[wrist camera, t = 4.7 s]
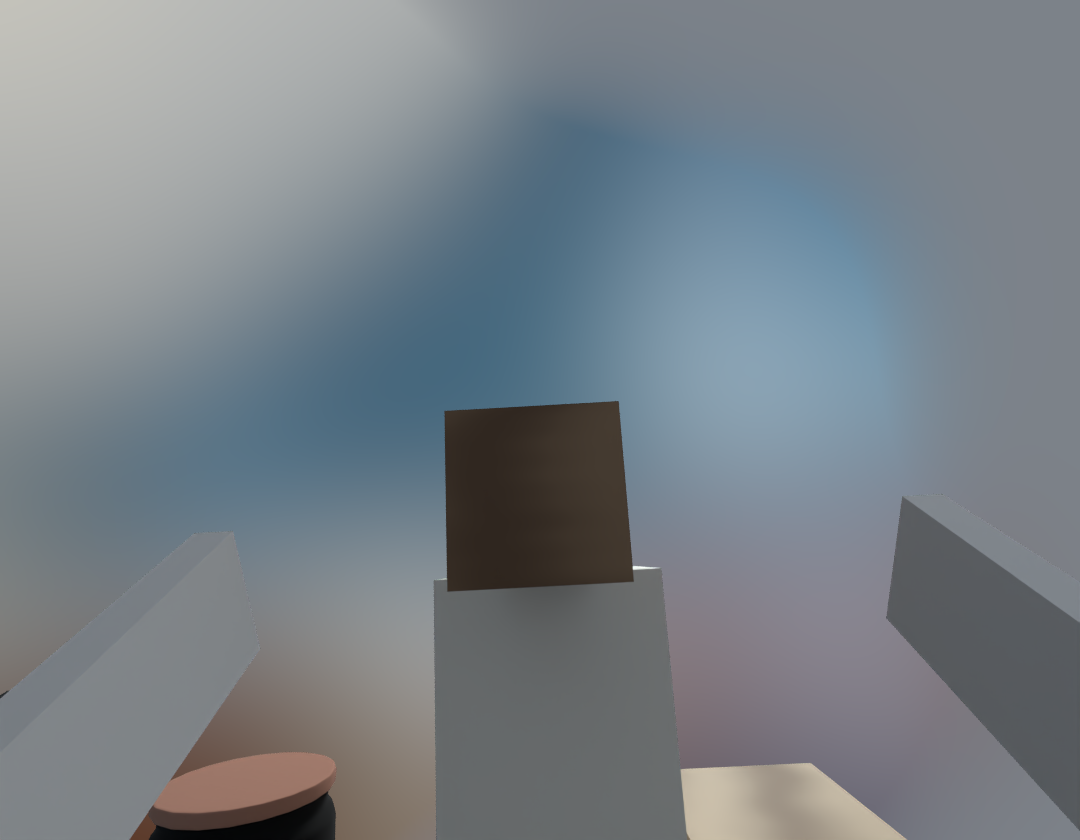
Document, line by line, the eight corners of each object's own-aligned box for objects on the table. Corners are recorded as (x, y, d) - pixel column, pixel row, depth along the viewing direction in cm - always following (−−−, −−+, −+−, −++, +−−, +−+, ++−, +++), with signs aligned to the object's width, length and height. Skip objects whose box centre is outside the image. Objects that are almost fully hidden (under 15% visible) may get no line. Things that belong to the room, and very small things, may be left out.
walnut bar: (447, 591, 11) (444, 411, 12) (522, 569, 36) (519, 512, 37) (633, 582, 11) (618, 401, 12) (579, 566, 36) (575, 509, 37)
